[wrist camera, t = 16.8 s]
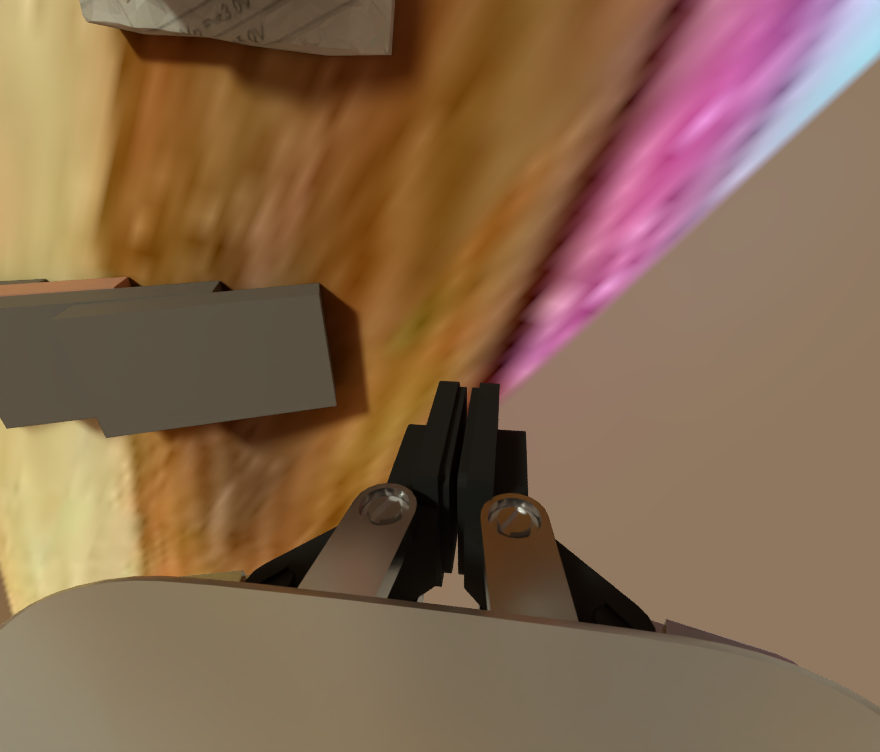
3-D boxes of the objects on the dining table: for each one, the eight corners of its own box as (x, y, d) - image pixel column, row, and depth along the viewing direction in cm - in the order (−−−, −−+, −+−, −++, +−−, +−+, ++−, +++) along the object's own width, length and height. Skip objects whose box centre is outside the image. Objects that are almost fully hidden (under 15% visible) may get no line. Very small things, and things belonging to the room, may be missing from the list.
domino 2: (319, 294, 17) (51, 319, 15) (336, 405, 19) (105, 437, 18) (319, 282, 18) (73, 304, 17) (335, 388, 21) (121, 416, 19)
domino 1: (212, 291, 18) (-60, 312, 16) (240, 400, 20) (6, 428, 18) (219, 280, 19) (-30, 298, 17) (245, 383, 21) (28, 408, 20)
